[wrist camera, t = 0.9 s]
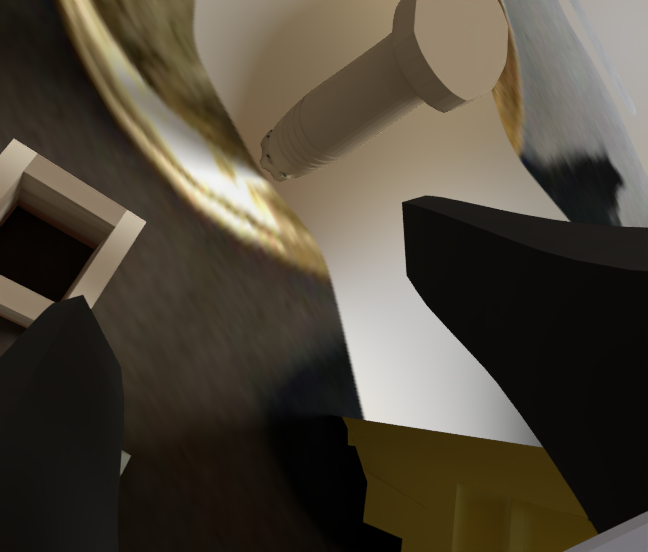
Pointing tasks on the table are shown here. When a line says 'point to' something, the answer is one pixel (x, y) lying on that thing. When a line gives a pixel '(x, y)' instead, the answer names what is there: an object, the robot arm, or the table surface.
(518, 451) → the yellow recessed panel
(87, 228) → the birch sleeve
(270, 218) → the table surface
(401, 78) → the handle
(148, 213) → the table surface
